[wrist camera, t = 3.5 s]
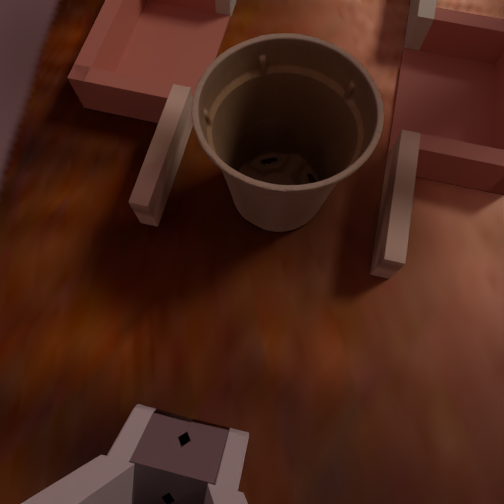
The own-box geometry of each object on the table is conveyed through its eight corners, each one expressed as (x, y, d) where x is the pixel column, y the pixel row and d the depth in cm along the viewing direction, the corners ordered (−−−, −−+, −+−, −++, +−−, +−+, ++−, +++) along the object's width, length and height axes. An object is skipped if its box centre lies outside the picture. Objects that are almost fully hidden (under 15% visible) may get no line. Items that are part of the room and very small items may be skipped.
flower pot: (179, 179, 29) (153, 90, 21) (285, 110, 31) (299, 5, 23) (264, 284, 26) (272, 229, 18) (374, 202, 28) (425, 119, 20)
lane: (388, 278, 26) (405, 263, 24) (140, 222, 28) (128, 202, 25) (404, 159, 29) (420, 133, 27) (180, 113, 31) (173, 83, 28)
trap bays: (504, 195, 28) (533, 172, 26) (84, 107, 31) (67, 77, 28) (509, 57, 33) (533, 24, 30) (138, -11, 35) (128, -47, 32)
